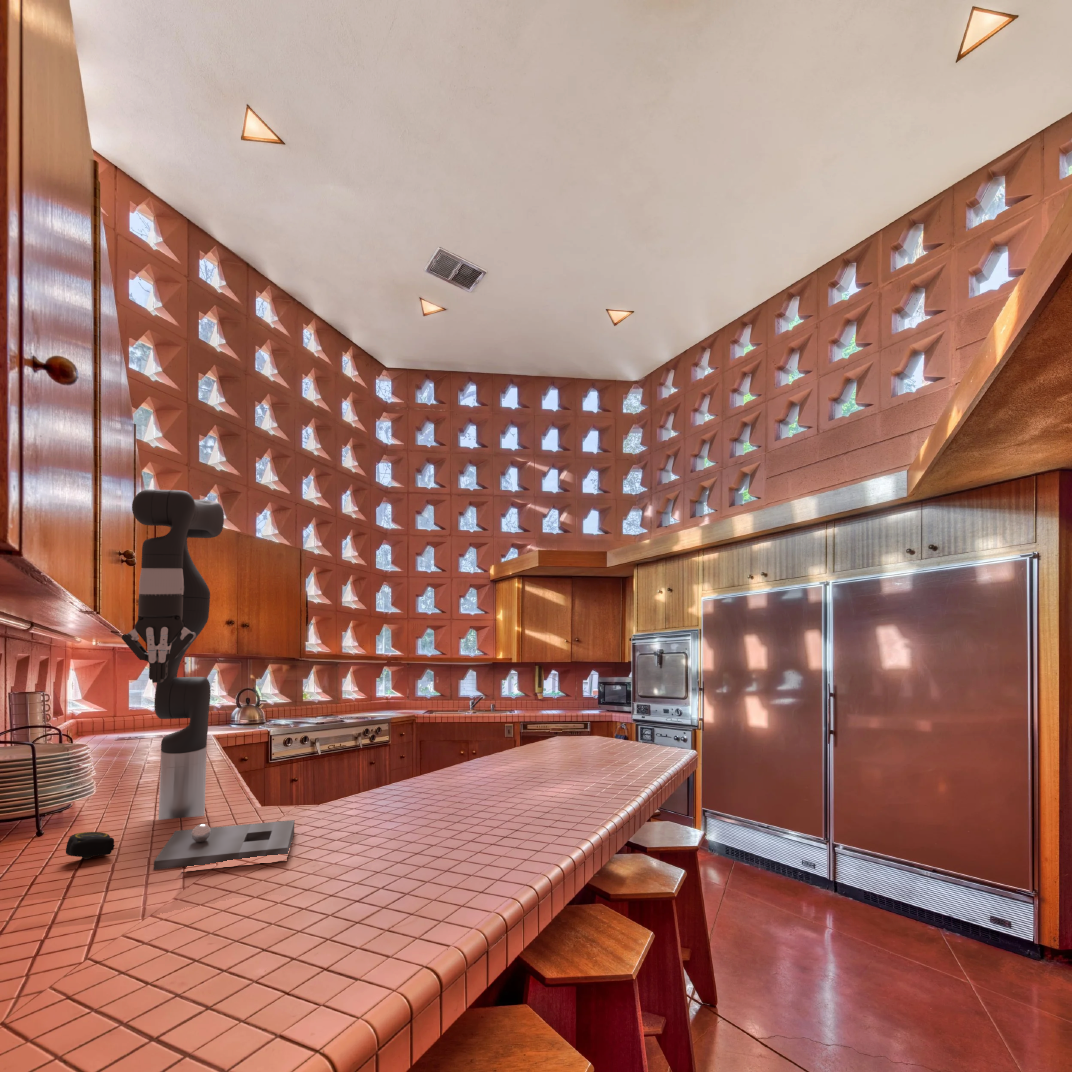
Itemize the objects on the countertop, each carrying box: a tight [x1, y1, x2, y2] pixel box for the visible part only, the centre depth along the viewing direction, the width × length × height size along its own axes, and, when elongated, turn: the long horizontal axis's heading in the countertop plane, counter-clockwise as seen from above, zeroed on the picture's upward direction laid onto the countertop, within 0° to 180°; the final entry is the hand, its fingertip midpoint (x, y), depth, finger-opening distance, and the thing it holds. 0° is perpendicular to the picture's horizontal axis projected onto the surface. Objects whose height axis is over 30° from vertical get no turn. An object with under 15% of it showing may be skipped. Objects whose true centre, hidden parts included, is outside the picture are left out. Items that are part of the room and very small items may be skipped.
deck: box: [153, 819, 295, 871], centre depth 124 cm, size 22×14×2 cm, turn 105°
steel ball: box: [192, 823, 211, 842], centre depth 123 cm, size 3×3×3 cm
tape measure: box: [65, 831, 116, 860], centre depth 121 cm, size 7×7×4 cm
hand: (158, 681), depth 126 cm, fingers closed
